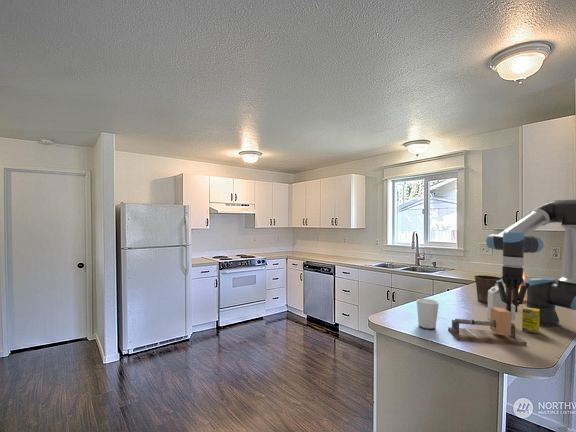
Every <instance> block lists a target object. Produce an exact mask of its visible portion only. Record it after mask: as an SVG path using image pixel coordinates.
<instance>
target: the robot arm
mask: <svg viewBox="0 0 576 432" xmlns="http://www.w3.org/2000/svg"><path fill="white" fill-rule="evenodd" d="M551 223H553V224H555V223H561V228H562V229H564V241H563V244H564V245H563V256H562V257H563V258H562V272H561V273H562V274H561V277H559V278H558V279H555V278H550V277H549V278H547V277H546V278H545V277H532V278H529V279H527V281H526V280H525V281H524V279H523V271H524V268H523V267H524V254H525V253H526V254H527V253H528V254H534V253H540V252H541V251H542V250H543V248H544V241H543V240H542V239H541V238H540V237H538V236H534V235H529V234H531V233H532V232H534V231H535V230H536V229H538V228H540V227H541V226H546V225H548V224H551ZM485 239H486V240H485V242H486V246H487V248H489V249H491V250H496V251H497V250H498V251H499V250H500V251H502V265H503V266H502V267H501V269H502V271H501V273H502V276H501V277H500V278H501V280H499V281H496V284H497V285H498V288H499V292H500V297H501V301H502V302H504V303H506V310H508V311H510V312H511V321H516V313H518V306H520V305H523V304H524V301H525V300H524V297H525V298H526V306H525V307H529V308H534V309H540V322H539V326H546V327H559V326H560V319H559V316H558V313H557V311H556V307H561V308H564V309H568V310H569V309H570V310H572V311H576V199H559V200H558V199H557V200H551V201H547V202H546V203H543V204H541V205H539V206H537V207H535V208H533V209H532V210H530V212H529V213H528V214H527V215H526V216H524V217H523V218H520V220H518V221H517V222H515V223H514V224H511V225H510V226H509V227H506V229H504V230H503V231H501V232H499V233H498V234H496V233H493V234H492V233H491V234H489V235H488V236H487V237H486V238H485ZM504 285H505V286H504ZM520 285H521V287H520V291H519V294H518V290H519V286H520ZM505 292H506V294H505ZM523 300H524V301H523Z"/></svg>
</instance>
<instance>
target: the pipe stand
mask: <svg viewBox="0 0 576 432" xmlns="http://www.w3.org/2000/svg"><path fill="white" fill-rule="evenodd" d="M460 324H462V325H470V326H471V325H472V326H473V325H474V326H475V325H476V326H487V327H488V326H489V327H490V326H496V322H495V321H490V320H481V319H465V318H455V319H452V320H451V326H450V327H448V328H447V329H448V332H449V333H450V334H451V335H452V336H453V337H454V338H456V340H457V341H465V342H475V341H476V342H477V343H488V344H489V343H490V344H500V345H501V344H502V345H514V346H523V347H524V346H525V347H526V346H527V341H525V340H524V339H522V338H521V337H519V336H518V335H516V325H515V323H514V322H511V335H498V334H497V333H495V332H494V331H492V330H491V329H490V330H489V329H476V328H475V329H474V328H463V327H460ZM476 342H475V343H476Z"/></svg>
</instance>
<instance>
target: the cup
mask: <svg viewBox="0 0 576 432" xmlns="http://www.w3.org/2000/svg"><path fill="white" fill-rule="evenodd" d="M439 303H440V302H438V301H437V300H436V299H435V300H434V299H430V298H429V299H428V298H418V299H416V308H417V309H416V310H417V321H418V322H417V323H418V327H419V328H422V329H423V330H427V329H428V330H430V331H433V330H434V329H436V327H437V321H438V320H437V319H438V313H439Z"/></svg>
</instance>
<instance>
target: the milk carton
mask: <svg viewBox="0 0 576 432" xmlns="http://www.w3.org/2000/svg"><path fill="white" fill-rule="evenodd" d="M505 294H506V291H505ZM491 307H497V308H504V309H506V303H504V302H502V301H501V297H500V292H499V288H498V285H497V284H495V286H494V287H492V288H491V289H490V290H488V303H487V314H486V315H487V316H486V317H487V319H488V321H490V314H491Z"/></svg>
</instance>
